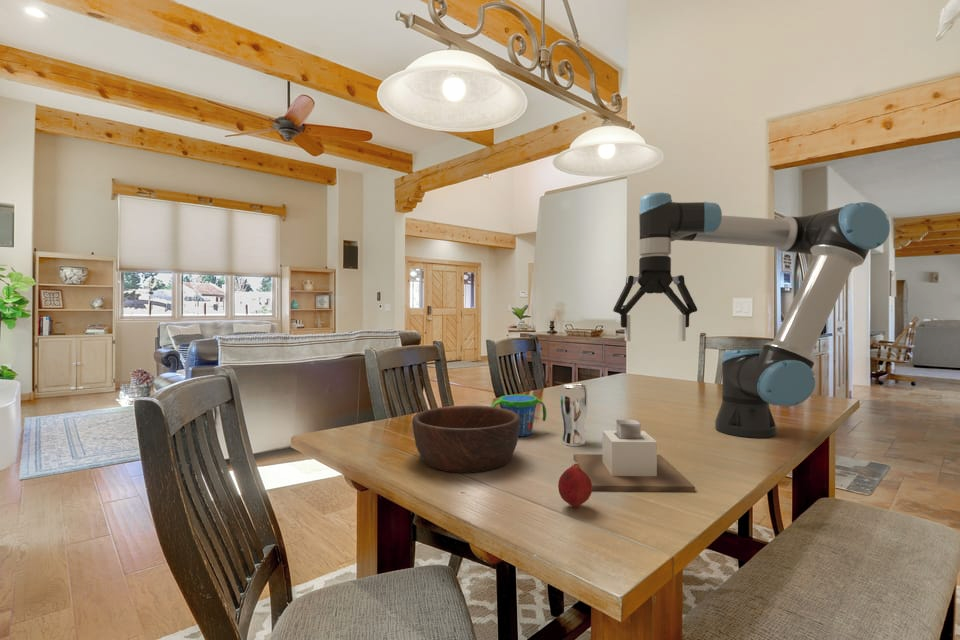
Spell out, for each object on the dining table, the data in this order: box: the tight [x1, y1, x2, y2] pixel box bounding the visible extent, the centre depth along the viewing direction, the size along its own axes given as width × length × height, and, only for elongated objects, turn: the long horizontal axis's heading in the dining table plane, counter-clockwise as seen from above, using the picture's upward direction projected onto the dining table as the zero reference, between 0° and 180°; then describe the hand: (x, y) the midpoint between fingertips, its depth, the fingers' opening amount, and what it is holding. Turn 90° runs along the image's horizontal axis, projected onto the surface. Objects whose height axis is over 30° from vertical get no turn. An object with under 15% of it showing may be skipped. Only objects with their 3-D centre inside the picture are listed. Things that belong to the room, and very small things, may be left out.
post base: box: [573, 419, 696, 493], centre depth 104 cm, size 20×20×11 cm
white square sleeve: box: [602, 430, 658, 476], centre depth 104 cm, size 9×9×7 cm
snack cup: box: [491, 394, 547, 437], centre depth 136 cm, size 16×10×10 cm
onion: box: [557, 461, 593, 509], centre depth 86 cm, size 6×6×8 cm
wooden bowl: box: [411, 405, 520, 473], centre depth 114 cm, size 25×25×10 cm
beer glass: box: [559, 383, 588, 447], centre depth 127 cm, size 7×7×15 cm
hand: (654, 340), depth 123 cm, fingers open, 13 cm apart
